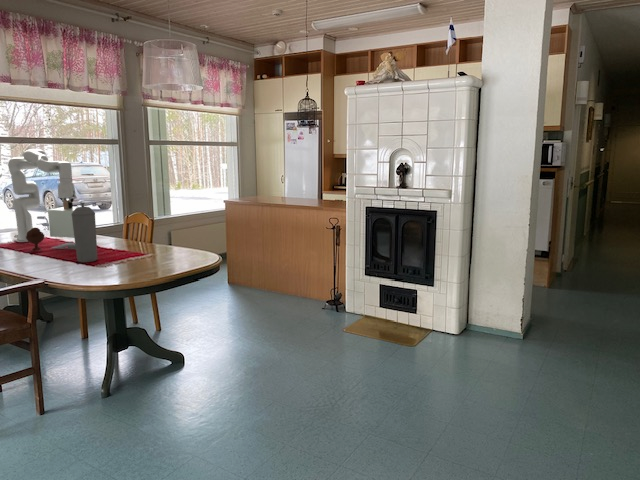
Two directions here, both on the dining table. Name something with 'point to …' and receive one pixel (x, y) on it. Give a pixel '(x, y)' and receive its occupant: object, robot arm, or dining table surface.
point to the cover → (61, 221)
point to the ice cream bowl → (35, 237)
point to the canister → (85, 233)
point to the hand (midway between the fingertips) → (68, 207)
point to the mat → (69, 245)
